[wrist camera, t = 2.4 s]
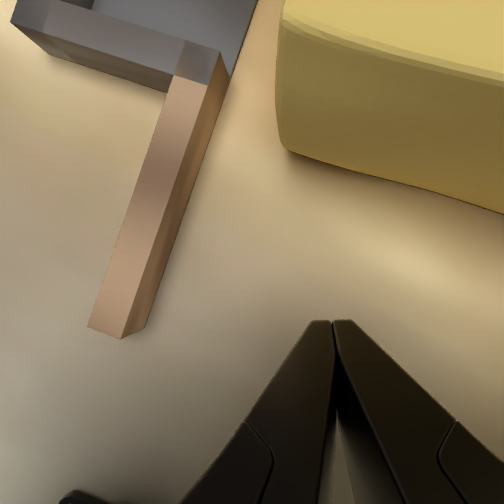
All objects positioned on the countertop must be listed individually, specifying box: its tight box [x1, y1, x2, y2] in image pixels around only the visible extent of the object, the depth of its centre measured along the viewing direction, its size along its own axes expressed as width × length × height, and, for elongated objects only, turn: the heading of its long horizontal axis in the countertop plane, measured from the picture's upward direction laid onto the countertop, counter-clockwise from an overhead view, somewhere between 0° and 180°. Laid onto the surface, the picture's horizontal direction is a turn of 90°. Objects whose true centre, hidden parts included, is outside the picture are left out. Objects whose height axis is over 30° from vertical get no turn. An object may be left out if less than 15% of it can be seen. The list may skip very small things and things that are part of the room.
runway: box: [10, 0, 258, 339], centre depth 15 cm, size 22×29×4 cm
